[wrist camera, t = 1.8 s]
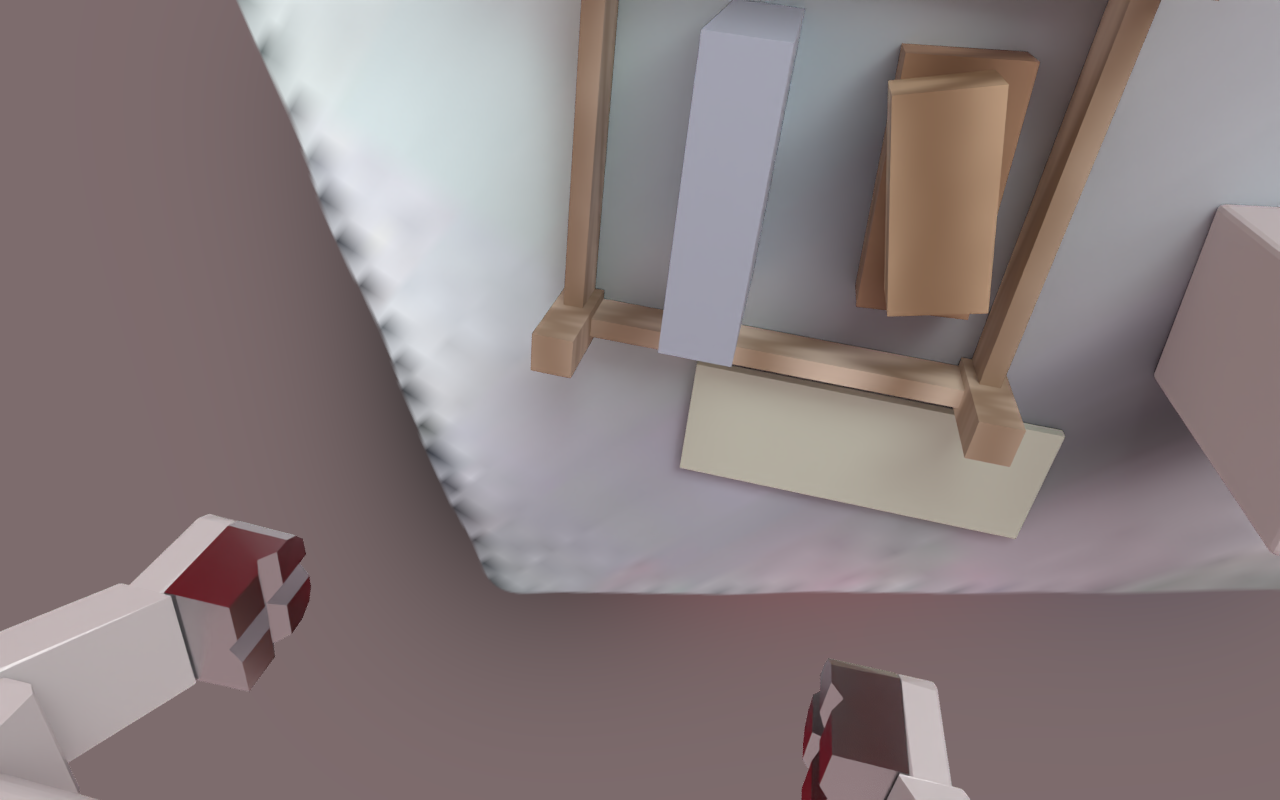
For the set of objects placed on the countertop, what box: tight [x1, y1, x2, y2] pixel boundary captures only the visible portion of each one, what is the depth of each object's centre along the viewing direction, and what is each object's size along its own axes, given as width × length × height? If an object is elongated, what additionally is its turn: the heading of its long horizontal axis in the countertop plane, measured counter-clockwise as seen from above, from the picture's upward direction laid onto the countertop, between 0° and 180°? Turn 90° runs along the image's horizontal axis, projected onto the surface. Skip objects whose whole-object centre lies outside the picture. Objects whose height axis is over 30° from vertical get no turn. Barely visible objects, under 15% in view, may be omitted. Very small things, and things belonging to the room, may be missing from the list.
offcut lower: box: [855, 43, 1040, 320], centre depth 35 cm, size 5×11×3 cm, turn 178°
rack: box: [531, 0, 1219, 467], centre depth 34 cm, size 22×21×6 cm
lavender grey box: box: [658, 0, 805, 367], centre depth 33 cm, size 3×12×10 cm, turn 173°
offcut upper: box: [884, 70, 1009, 317], centre depth 33 cm, size 4×9×3 cm, turn 7°
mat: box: [680, 361, 1065, 539], centre depth 44 cm, size 19×7×1 cm, turn 83°
